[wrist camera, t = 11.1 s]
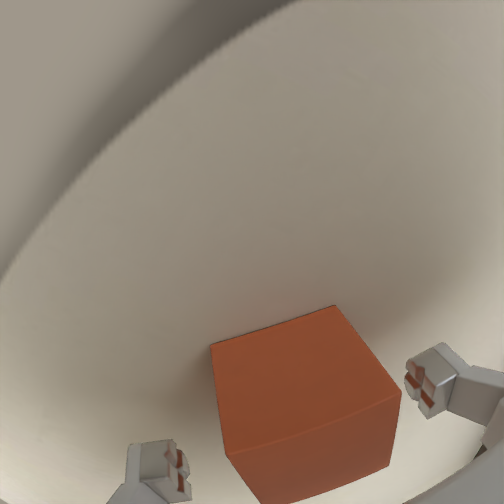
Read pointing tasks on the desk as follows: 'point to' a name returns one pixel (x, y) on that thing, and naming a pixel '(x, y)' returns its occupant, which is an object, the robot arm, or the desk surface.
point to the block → (304, 407)
